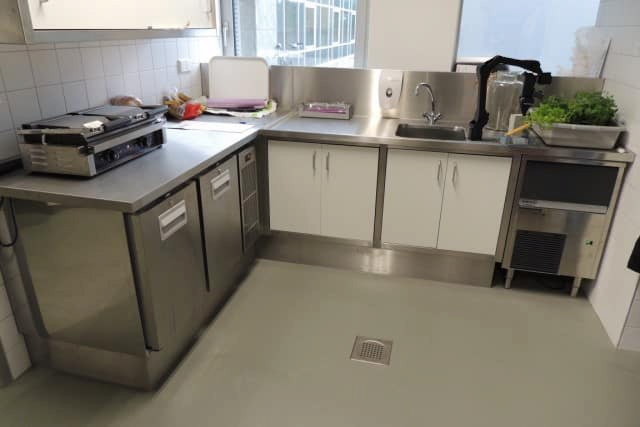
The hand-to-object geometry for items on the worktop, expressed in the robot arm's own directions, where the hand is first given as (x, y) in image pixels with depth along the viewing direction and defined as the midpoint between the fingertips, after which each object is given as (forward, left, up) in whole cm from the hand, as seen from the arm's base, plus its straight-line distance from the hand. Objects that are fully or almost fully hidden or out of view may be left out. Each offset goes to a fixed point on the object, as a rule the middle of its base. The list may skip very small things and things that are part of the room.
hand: (523, 115), depth 248 cm
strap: (-7, -9, -7) cm, 13 cm away
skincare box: (+2, +8, -14) cm, 16 cm away
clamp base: (-6, -9, -14) cm, 17 cm away
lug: (-1, -13, -14) cm, 19 cm away
